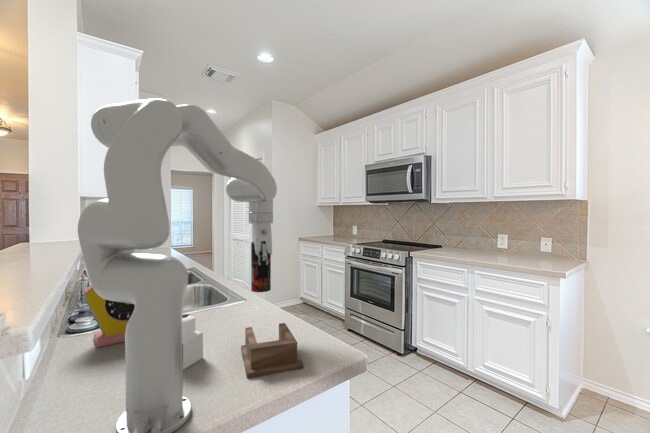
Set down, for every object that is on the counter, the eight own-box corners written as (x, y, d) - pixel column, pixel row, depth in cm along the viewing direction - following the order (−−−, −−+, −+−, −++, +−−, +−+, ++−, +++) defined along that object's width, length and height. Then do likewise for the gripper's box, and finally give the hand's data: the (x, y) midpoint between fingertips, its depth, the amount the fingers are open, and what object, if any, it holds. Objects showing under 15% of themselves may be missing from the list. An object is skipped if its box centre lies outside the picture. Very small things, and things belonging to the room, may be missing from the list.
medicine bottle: (161, 365, 80) (161, 319, 79) (183, 353, 86) (183, 310, 86) (182, 370, 77) (182, 323, 77) (203, 358, 84) (203, 314, 83)
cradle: (303, 368, 78) (303, 343, 78) (246, 378, 74) (246, 352, 74) (288, 342, 94) (288, 322, 93) (241, 349, 89) (241, 328, 89)
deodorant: (247, 290, 96) (247, 242, 96) (261, 286, 101) (261, 241, 101) (260, 293, 93) (260, 243, 93) (274, 289, 98) (274, 242, 98)
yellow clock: (84, 351, 87) (83, 275, 87) (83, 340, 94) (82, 270, 94) (169, 331, 102) (168, 266, 101) (162, 323, 109) (162, 262, 108)
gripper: (278, 219, 90) (278, 281, 90) (268, 217, 106) (268, 270, 107) (252, 219, 87) (252, 283, 88) (245, 218, 104) (245, 271, 104)
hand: (261, 275), depth 97 cm, fingers closed on deodorant, 5 cm apart
